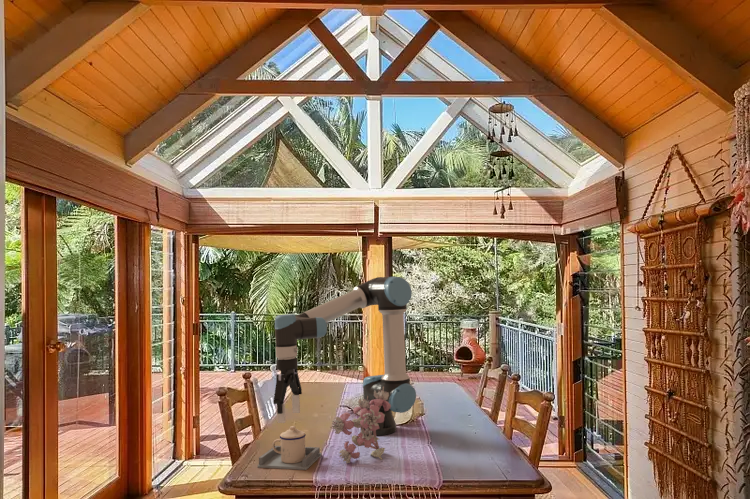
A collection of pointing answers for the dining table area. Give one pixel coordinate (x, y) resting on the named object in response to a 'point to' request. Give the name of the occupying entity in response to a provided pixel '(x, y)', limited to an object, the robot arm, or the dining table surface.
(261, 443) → the dining table surface
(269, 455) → the grey shallow square tray
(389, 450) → the dining table surface
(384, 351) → the robot arm
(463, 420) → the dining table surface
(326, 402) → the dining table surface
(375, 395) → the flower
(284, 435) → the teacup with lid
